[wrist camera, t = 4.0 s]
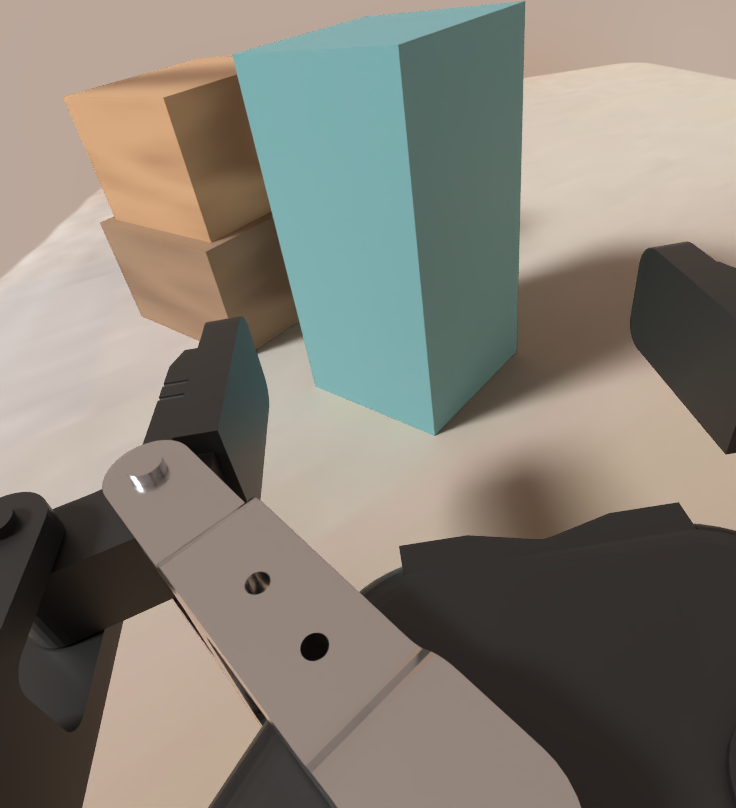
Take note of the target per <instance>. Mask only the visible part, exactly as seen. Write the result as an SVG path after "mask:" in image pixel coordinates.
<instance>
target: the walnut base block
mask: <svg viewBox="0 0 736 808" xmlns="http://www.w3.org/2000/svg"><path fill="white" fill-rule="evenodd" d="M100 224H101V226H102V229H103V231H104V233H105V235H106V237H107V240H108V242H109V244H110V246H111V249H112V251H113V253H114V255H115V258H116V260H117V262H118V264H119V267H120V269H121V271H122V273H123V275H124V278H125V280H126V282H127V284H128V287H129V289H130V291H131V293H132V296H133V298H134V300H135V302H136V305H137V307H138V309H139V311H140V313H141V316H142V317H145V318H147V319H149V320H152V321H154V322H156V323H159V324H161V325H163V326H166V327H168V328H170V329H173V330H175V331H177V332H180V333H182V334H184V335H187V336H189V337H191V338H194V339H196V340H198V341H200V339H201V335H202V332H203V328H204V325H205V323H206V322H210V321H216V320H222V319H228V318H233V317H239V316H243V317H244V318H245V320H246V322H247V324H248V327H249V330H250V333H251V336H252V339H253V343H254V346H255V349H256V350H257V349H258V348H260V347H261V346H263V345H264V344H266V343H267V342H269V341H270V340H272V339H273V338H275V337H276V336H278V335H279V334H281V333H282V332H284V331H285V330H287V329H288V328H290V327H291V326H293V325H294V324H296V323H297V322H298V321H299V318H298V314H297V310H296V306H295V302H294V298H293V294H292V290H291V287H290V283H289V279H288V275H287V271H286V267H285V263H284V259H283V255H282V251H281V247H280V243H279V239H278V235H277V231H276V227H275V223H274V219H273V215H272V212H270V213H268V214H266V215H264V216H262V217H260V218H258V219H256V220H254V221H252V222H250V223H249V224H247V225H245V226H243V227H241V228H239V229H237V230H235V231H233V232H231V233H229V234H227V235H225V236H223V237H221V238H219V239H218V240H216V241H214V242H212V243H210V242H206V241H202V240H198V239H194V238H189V237H185V236H181V235H177V234H173V233H169V232H165V231H161V230H156V229H152V228H148V227H144V226H140V225H136V224H132V223H128V222H123V221H119V220H116V219H115V217H112V218H110V219H107V220H105V221H103V222H100Z"/></svg>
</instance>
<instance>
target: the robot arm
mask: <svg viewBox="0 0 736 808" xmlns="http://www.w3.org/2000/svg"><path fill="white" fill-rule="evenodd" d="M630 329H631V335H632V339H633V341H634V344H635V346H636V347H637V349H638V350H639V351H640V352H641V354H642V355H643V356H644V357H645V358H646V360H647V361H648V362H649V363H650V364H651V366H652V367H653V368H654V369H655V370H656V372H657V373H658V374H659V375H660V376H661V378H662V379H663V380H664V381H665V382H666V384H667V385H668V386H669V387H670V388H671V390H672V391H673V392H674V393H675V394H676V396H677V397H678V398H679V399H680V400H681V402H682V403H683V404H684V405H685V406H686V408H687V409H688V410H689V411H690V412H691V414H692V415H693V416H694V417H695V418H696V420H697V421H698V422H699V423H700V424H701V426H702V427H703V428H704V429H705V430H706V432H707V433H708V434H709V435H710V436H711V438H712V439H713V440H714V441H715V442H716V444H717V445H718V446H719V447H720V448H721V449H722V451H723V452H724V453H725V454H731V453H736V268H734V267H731V266H728V265H726V264H723V263H720V262H716V261H715V260H714V259H712V258H711V257H710V256H708V255H707V254H706V253H704V252H703V251H702V250H700V249H699V248H698V247H696V246H695V245H694V244H692V243H690V242H682V243H676V244H670V245H664V246H659V247H653V248H648V249H646V250H645V251H644V253H643V254H642V256H641V259H640V264H639V270H638V276H637V282H636V288H635V294H634V299H633V305H632V311H631V318H630ZM159 399H160V401H158V402H157V405H156V408H155V410H154V413H153V416H152V419H151V422H150V425H149V428H148V431H147V434H146V437H145V439H144V442H143V445H141V446H138V447H136V448H134V449H132V450H131V451H129V452H127V453H126V454H124V455H123V456H122V457H120V458H119V459H118V460H117V461H116V462H115V463H114V464H113V465H112V466H111V467H110V469H109V470H108V471H107V473H106V475H105V477H104V480H103V484H102V489H101V490H99V491H97V492H95V493H93V494H90V495H88V496H85V497H82V498H80V499H77V500H75V501H72V502H70V503H67V504H65V505H62V506H60V507H57V508H55V509H52V508H51V507H50V506H49V504H48V503H47V502H46V500H45V499H44V498H43V497H42V496H40V495H38V494H36V493H31V492H20V493H14V494H10V495H6V496H4V497H1V498H0V808H82V806H83V801H84V797H85V792H86V788H87V783H88V778H89V774H90V769H91V765H92V760H93V756H94V751H95V747H96V742H97V738H98V733H99V729H100V724H101V719H102V715H103V710H104V706H105V701H106V697H107V692H108V688H109V683H110V679H111V674H112V670H113V665H114V660H115V656H116V651H117V647H118V642H119V638H120V633H121V629H122V624H123V621H124V620H126V619H128V618H130V617H133V616H135V615H137V614H139V613H141V612H144V611H146V610H148V609H150V608H152V607H155V606H157V605H159V604H161V603H163V602H166V601H168V600H170V599H172V600H173V602H174V603H175V604H176V606H177V607H178V609H179V610H180V612H181V613H182V614H183V616H184V617H185V619H186V620H187V621H188V623H189V624H190V626H191V627H192V628H193V630H194V631H195V633H196V634H197V635H198V637H199V638H200V640H201V641H202V642H203V644H204V645H205V647H206V648H207V649H208V651H209V652H210V654H211V655H212V656H213V658H214V659H215V661H216V662H217V663H218V665H219V666H220V668H221V669H222V671H223V672H224V673H225V675H226V676H227V678H228V679H229V681H230V682H231V684H232V685H233V687H234V688H235V690H236V691H237V693H238V694H239V696H240V697H241V698H242V700H243V701H244V703H245V704H246V706H247V707H248V709H249V710H250V712H251V713H252V714H253V716H254V717H255V719H256V720H257V721H258V723H259V724H260V726H261V727H262V728H261V729H260V731H259V732H258V734H257V735H256V737H255V738H254V740H253V741H252V743H251V744H250V746H249V747H248V749H247V750H246V752H245V753H244V755H243V756H242V758H241V759H240V761H239V762H238V764H237V765H236V767H235V768H234V770H233V771H232V773H231V774H230V776H229V777H228V779H227V780H226V782H225V783H224V785H223V786H222V788H221V789H220V791H219V792H218V794H217V795H216V797H215V798H214V800H213V801H212V803H211V804H210V806H209V807H208V808H736V531H734V530H730V529H725V528H721V527H715V526H709V525H702V524H693V523H692V521H691V520H690V519H689V517H688V516H687V514H686V513H685V511H684V510H683V508H682V507H681V505H680V504H679V502H678V503H672V504H665V505H659V506H653V507H646V508H640V509H633V510H627V511H621V512H614V513H609V514H606V515H604V516H601V517H599V518H596V519H594V520H592V521H589V522H587V523H584V524H582V525H579V526H577V527H574V528H572V529H569V530H567V531H565V532H562V533H560V534H557V535H555V536H552V537H549V538H546V539H521V538H503V537H485V536H468V535H467V536H461V537H454V538H448V539H441V540H435V541H429V542H422V543H416V544H409V545H403V546H399V548H400V555H401V561H402V567H401V568H398V569H396V570H393V571H391V572H389V573H387V574H385V575H384V576H382V577H380V578H378V579H376V580H375V581H373V582H372V583H370V584H369V585H368V586H366V587H365V588H363V589H362V590H361V591H360V592H358V591H357V590H356V589H355V588H354V587H353V586H352V585H351V584H350V583H349V582H348V581H347V580H346V579H344V578H343V577H342V576H341V575H340V574H339V573H338V572H337V571H336V570H335V569H334V568H333V567H332V566H331V565H329V564H328V563H327V562H326V561H325V560H324V559H323V558H322V557H321V556H320V555H319V554H318V553H317V552H316V551H314V550H313V549H312V548H311V547H310V546H309V545H308V544H307V543H306V542H305V541H304V540H303V539H302V538H301V537H300V536H298V535H297V534H296V533H295V532H294V531H293V530H292V529H291V528H290V527H289V526H288V525H287V524H286V523H285V522H283V521H282V520H281V519H280V518H279V517H278V516H277V515H276V514H275V513H274V512H273V511H272V510H271V509H270V508H268V507H267V506H266V505H265V504H264V503H263V502H262V501H260V498H261V488H262V477H263V466H264V456H265V445H266V434H267V423H268V413H269V396H268V389H267V384H266V380H265V377H264V374H263V370H262V367H261V364H260V361H259V358H258V355H257V352H256V349H255V346H254V343H253V339H252V336H251V333H250V330H249V327H248V324H247V322H246V320H245V318H244V317H243V316H239V317H233V318H228V319H222V320H216V321H210V322H206V323H205V325H204V328H203V332H202V335H201V339H200V342H199V345H198V348H195V349H189V350H185V351H184V352H183V353H182V354H181V355H180V356H179V357H178V358H177V359H176V360H175V361H174V362H173V364H172V365H171V366H170V367H169V370H168V373H167V376H166V379H165V381H164V387H162V390H161V393H160V396H159Z"/></svg>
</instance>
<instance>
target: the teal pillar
mask: <svg viewBox="0 0 736 808" xmlns="http://www.w3.org/2000/svg"><path fill="white" fill-rule="evenodd" d="M524 27H525V1H521V2H511V3H501V4H490V5H481V6H471V7H460V8H449V9H439V10H429V11H419V12H408V13H399V14H388V15H379V16H367V17H362V18H359V19H355V20H352V21H348V22H345V23H341V24H337V25H334V26H331V27H327V28H323V29H320V30H317V31H313V32H309V33H306V34H302V35H299V36H295V37H292V38H289V39H285V40H281V41H278V42H274V43H271V44H267V45H264V46H260V47H257V48H253V49H249V50H246V51H243V52H239V53H235V54H232V56H233V60H234V64H235V68H236V72H237V76H238V80H239V84H240V88H241V92H242V96H243V100H244V104H245V108H246V112H247V116H248V120H249V124H250V128H251V132H252V136H253V140H254V144H255V148H256V152H257V156H258V159H259V163H260V167H261V171H262V175H263V179H264V183H265V187H266V191H267V195H268V199H269V203H270V207H271V211H272V215H273V219H274V223H275V227H276V231H277V235H278V239H279V243H280V247H281V251H282V255H283V259H284V263H285V267H286V271H287V275H288V279H289V283H290V287H291V290H292V294H293V298H294V302H295V306H296V310H297V314H298V318H299V322H300V326H301V330H302V334H303V338H304V342H305V346H306V350H307V354H308V358H309V362H310V366H311V370H312V374H313V378H314V382H315V386H316V387H319V388H321V389H324V390H326V391H328V392H331V393H333V394H336V395H338V396H340V397H343V398H345V399H348V400H350V401H352V402H355V403H357V404H360V405H362V406H364V407H367V408H369V409H372V410H374V411H377V412H379V413H381V414H384V415H386V416H389V417H391V418H393V419H396V420H398V421H401V422H403V423H405V424H408V425H410V426H413V427H415V428H417V429H420V430H422V431H425V432H427V433H430V434H432V435H434V436H435V435H436V434H437V433H438V432H439V431H440V430H441V429H442V428H443V427H444V426H445V425H446V424H447V423H448V422H449V421H450V420H451V419H452V418H453V416H454V415H455V414H456V413H457V412H458V411H459V410H460V409H461V408H462V407H463V406H464V405H465V404H466V403H467V402H468V401H469V400H470V399H471V398H472V397H473V396H474V395H475V394H476V393H477V392H478V391H479V390H480V389H481V388H482V387H483V386H484V385H485V384H486V382H487V381H488V380H489V379H490V378H491V377H492V376H493V375H494V374H495V373H496V372H497V371H498V370H499V369H500V368H501V367H502V366H503V365H504V364H505V363H506V362H507V361H508V360H509V359H510V358H511V357H512V356H513V355H514V354H515V353H516V352H517V315H518V274H519V233H520V192H521V151H522V111H523V70H524V69H523V68H524Z"/></svg>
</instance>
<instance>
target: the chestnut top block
mask: <svg viewBox="0 0 736 808" xmlns="http://www.w3.org/2000/svg"><path fill="white" fill-rule="evenodd" d="M63 98H64V100H65V103H66V105H67V107H68V110H69V112H70V114H71V117H72V119H73V121H74V124H75V126H76V128H77V130H78V133H79V135H80V137H81V140H82V142H83V144H84V147H85V149H86V151H87V154H88V156H89V158H90V161H91V163H92V165H93V168H94V170H95V172H96V175H97V177H98V179H99V182H100V184H101V186H102V189H103V191H104V193H105V196H106V198H107V200H108V203H109V205H110V207H111V210H112V212H113V214H114V217H115V219H116V220H119V221H123V222H128V223H132V224H136V225H140V226H144V227H148V228H152V229H156V230H161V231H165V232H169V233H173V234H177V235H181V236H185V237H189V238H194V239H198V240H202V241H206V242H210V243H212V242H214V241H216V240H218V239H219V238H221V237H223V236H225V235H227V234H229V233H231V232H233V231H235V230H237V229H239V228H241V227H243V226H245V225H247V224H249V223H250V222H252V221H254V220H256V219H258V218H260V217H262V216H264V215H266V214H268V213H270V212H272V211H271V207H270V203H269V199H268V195H267V191H266V187H265V183H264V179H263V175H262V171H261V167H260V163H259V159H258V156H257V152H256V148H255V144H254V140H253V136H252V132H251V128H250V124H249V120H248V116H247V112H246V108H245V104H244V100H243V96H242V92H241V88H240V84H239V80H238V76H237V72H236V68H235V64H234V60H233V56H225V57H207V58H199V59H196V60H192V61H188V62H185V63H181V64H178V65H174V66H171V67H167V68H164V69H160V70H157V71H153V72H149V73H146V74H142V75H139V76H135V77H132V78H128V79H125V80H121V81H117V82H114V83H110V84H106V85H103V86H99V87H96V88H92V89H89V90H85V91H82V92H78V93H74V94H71V95H68V96H64V97H63Z"/></svg>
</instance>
